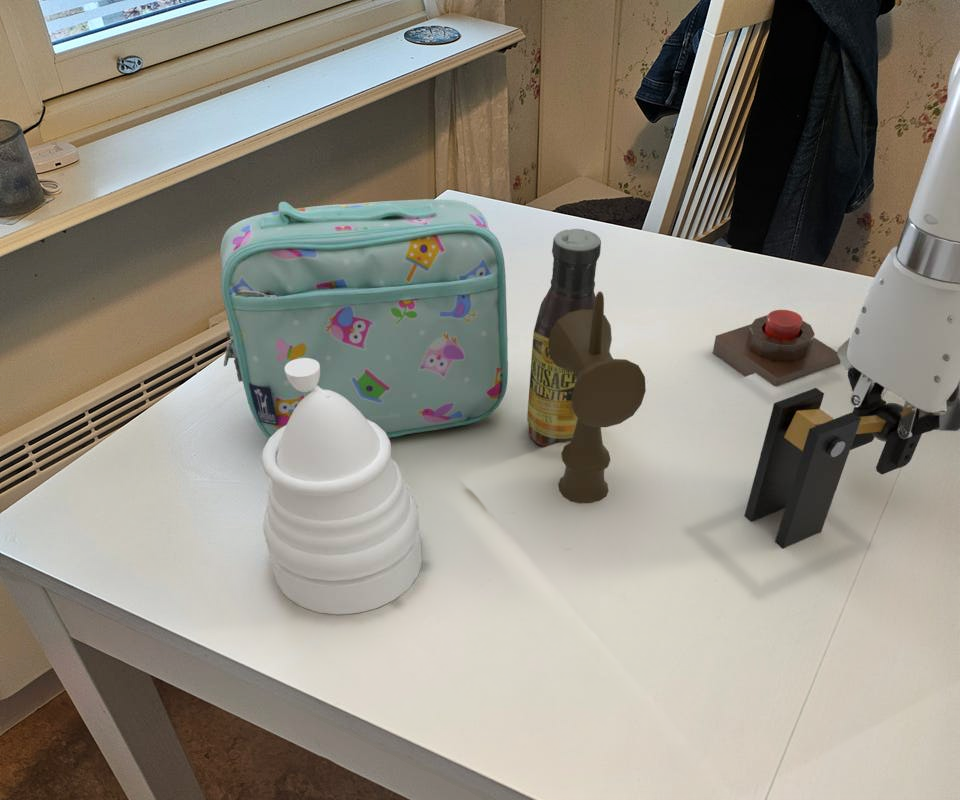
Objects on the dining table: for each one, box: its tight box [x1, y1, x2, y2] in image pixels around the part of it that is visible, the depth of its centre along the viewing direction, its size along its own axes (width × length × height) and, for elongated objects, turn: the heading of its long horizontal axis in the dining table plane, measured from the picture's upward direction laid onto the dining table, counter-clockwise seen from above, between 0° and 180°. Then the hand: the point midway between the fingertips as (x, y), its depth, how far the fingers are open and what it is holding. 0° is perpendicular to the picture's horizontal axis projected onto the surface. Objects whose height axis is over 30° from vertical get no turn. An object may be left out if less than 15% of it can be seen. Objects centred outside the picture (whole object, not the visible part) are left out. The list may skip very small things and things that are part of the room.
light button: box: [764, 309, 804, 340], centre depth 95 cm, size 4×4×2 cm
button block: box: [712, 314, 842, 387], centre depth 97 cm, size 9×10×4 cm
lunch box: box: [219, 198, 509, 439], centre depth 85 cm, size 27×10×21 cm, turn 102°
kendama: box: [548, 291, 647, 505], centre depth 76 cm, size 6×10×20 cm, turn 11°
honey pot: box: [261, 358, 423, 616], centre depth 71 cm, size 13×13×18 cm
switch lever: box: [784, 402, 904, 451], centre depth 74 cm, size 13×3×3 cm, turn 119°
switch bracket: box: [744, 387, 861, 549], centre depth 75 cm, size 12×9×13 cm
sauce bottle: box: [526, 228, 602, 448], centre depth 83 cm, size 7×6×20 cm
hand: (874, 454), depth 79 cm, fingers closed on switch lever, 3 cm apart
